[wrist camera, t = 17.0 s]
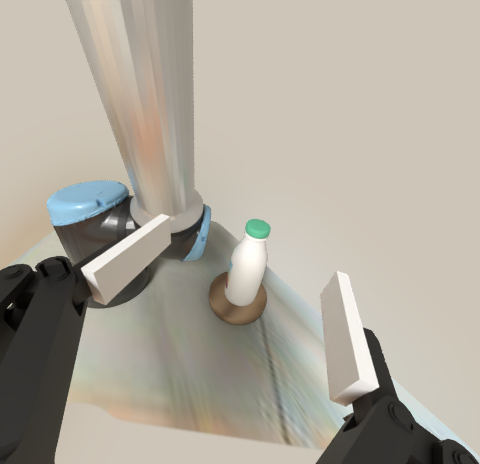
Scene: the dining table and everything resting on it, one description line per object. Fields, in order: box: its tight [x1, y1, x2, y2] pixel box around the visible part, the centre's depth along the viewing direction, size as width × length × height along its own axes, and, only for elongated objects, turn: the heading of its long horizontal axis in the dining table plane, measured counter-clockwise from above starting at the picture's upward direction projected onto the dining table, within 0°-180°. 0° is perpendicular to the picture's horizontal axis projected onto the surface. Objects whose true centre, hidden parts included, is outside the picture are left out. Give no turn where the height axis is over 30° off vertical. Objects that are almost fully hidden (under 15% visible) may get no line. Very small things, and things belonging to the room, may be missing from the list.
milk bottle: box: [225, 219, 270, 306], centre depth 40 cm, size 8×8×20 cm
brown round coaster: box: [209, 272, 267, 325], centre depth 46 cm, size 14×14×2 cm
